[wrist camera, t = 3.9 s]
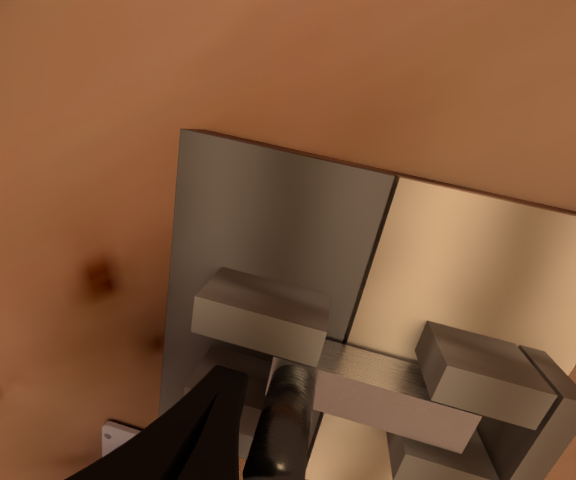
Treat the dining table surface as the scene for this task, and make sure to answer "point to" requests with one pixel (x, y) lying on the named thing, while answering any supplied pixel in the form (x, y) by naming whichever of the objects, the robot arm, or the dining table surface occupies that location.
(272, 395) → the bolt
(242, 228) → the door and jamb
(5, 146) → the dining table surface
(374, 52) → the dining table surface
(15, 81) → the dining table surface
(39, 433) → the dining table surface
